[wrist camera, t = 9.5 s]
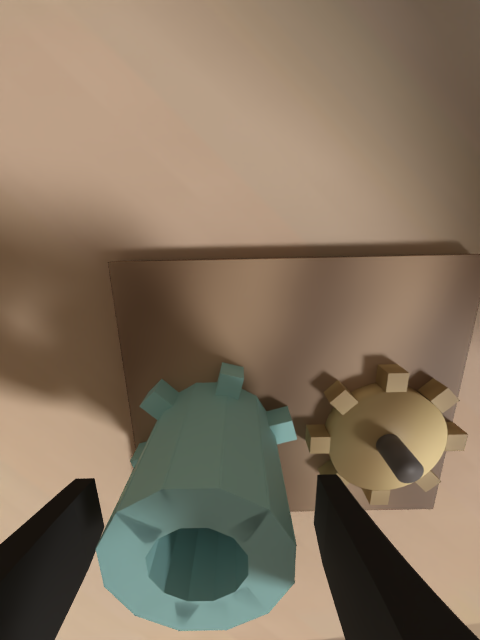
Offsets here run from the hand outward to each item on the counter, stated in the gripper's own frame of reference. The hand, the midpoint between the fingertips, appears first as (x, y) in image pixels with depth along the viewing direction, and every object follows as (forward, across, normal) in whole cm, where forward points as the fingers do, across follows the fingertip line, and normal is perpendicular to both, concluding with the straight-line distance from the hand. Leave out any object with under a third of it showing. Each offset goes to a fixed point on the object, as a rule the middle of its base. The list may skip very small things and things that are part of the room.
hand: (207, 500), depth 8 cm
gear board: (+4, -3, -2) cm, 5 cm away
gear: (+3, 0, 0) cm, 3 cm away
